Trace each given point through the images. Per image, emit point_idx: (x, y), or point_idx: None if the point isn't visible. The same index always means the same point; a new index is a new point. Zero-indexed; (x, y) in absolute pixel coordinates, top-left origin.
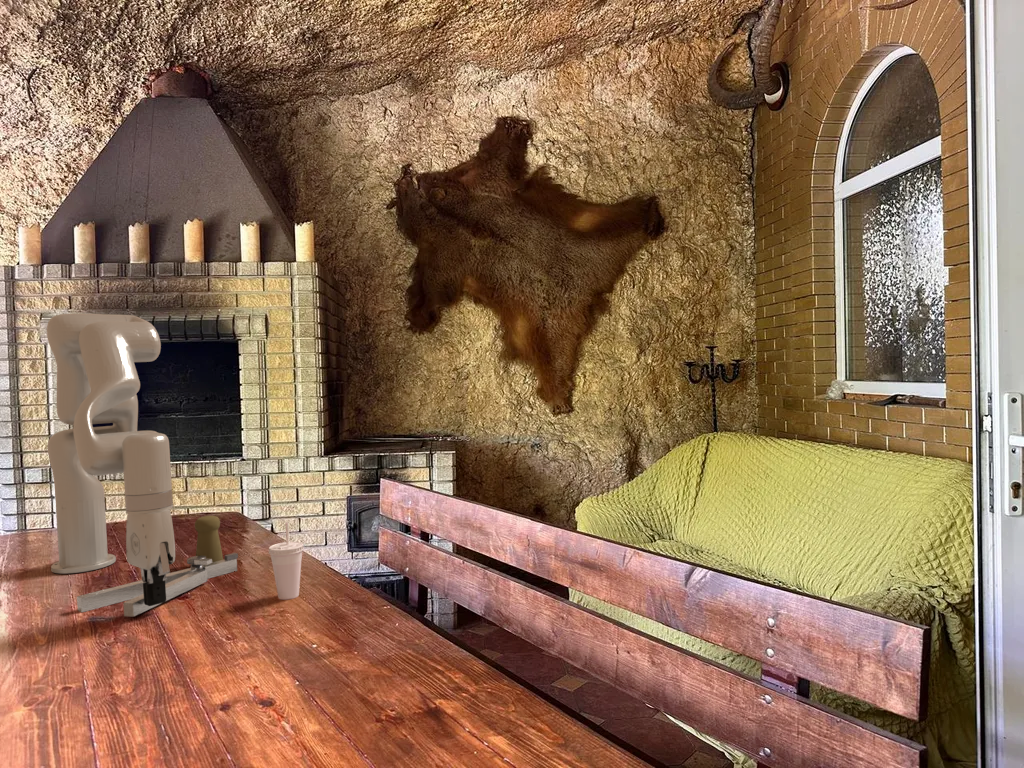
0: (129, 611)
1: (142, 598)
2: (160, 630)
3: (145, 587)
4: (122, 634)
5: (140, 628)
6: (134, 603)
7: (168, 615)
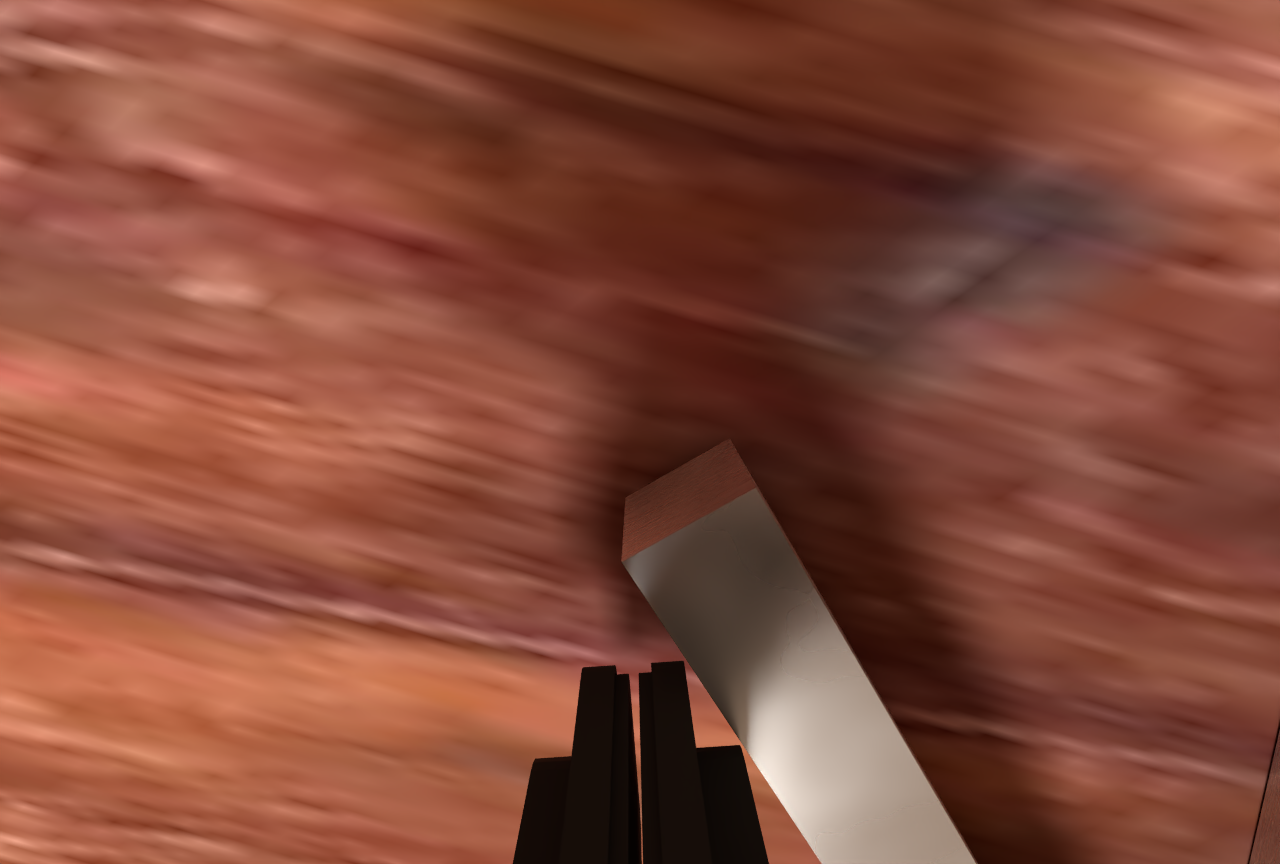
0: (673, 491)
1: (719, 693)
2: (105, 544)
3: (644, 845)
4: (249, 270)
5: (303, 445)
6: (637, 575)
7: (482, 716)
